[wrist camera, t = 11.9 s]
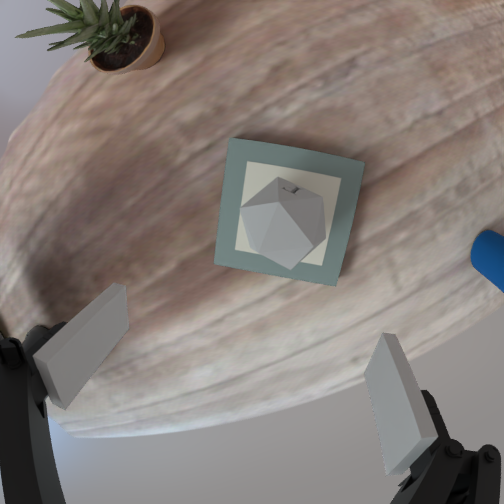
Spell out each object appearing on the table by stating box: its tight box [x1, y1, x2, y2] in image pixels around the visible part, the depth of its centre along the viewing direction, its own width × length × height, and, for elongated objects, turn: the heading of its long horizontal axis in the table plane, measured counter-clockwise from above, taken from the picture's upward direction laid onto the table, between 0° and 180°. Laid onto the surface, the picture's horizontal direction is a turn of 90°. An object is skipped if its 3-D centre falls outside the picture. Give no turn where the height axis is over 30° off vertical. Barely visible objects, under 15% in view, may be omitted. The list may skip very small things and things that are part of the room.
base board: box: [214, 138, 365, 286], centre depth 36 cm, size 16×16×2 cm
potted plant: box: [15, 0, 165, 75], centre depth 20 cm, size 10×10×25 cm
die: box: [239, 177, 326, 270], centre depth 31 cm, size 8×9×10 cm
